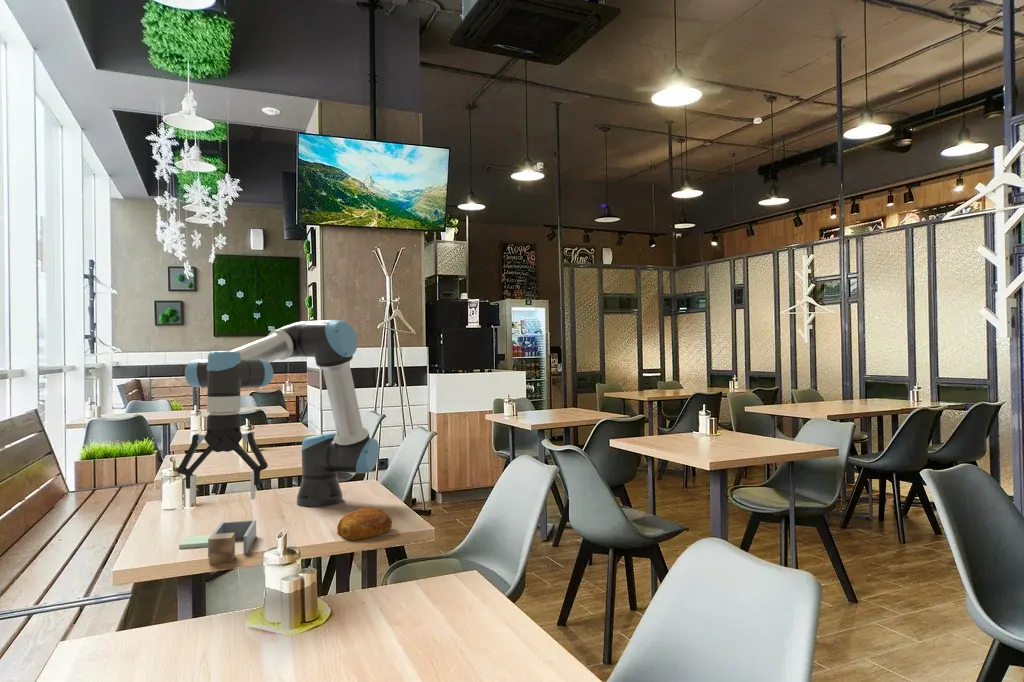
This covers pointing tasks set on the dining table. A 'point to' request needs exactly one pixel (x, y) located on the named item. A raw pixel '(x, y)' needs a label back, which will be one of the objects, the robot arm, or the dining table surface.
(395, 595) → the dining table surface
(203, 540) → the coaster
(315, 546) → the dining table surface
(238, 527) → the u-shaped bracket
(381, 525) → the brown oval lump
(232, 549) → the block
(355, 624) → the dining table surface
